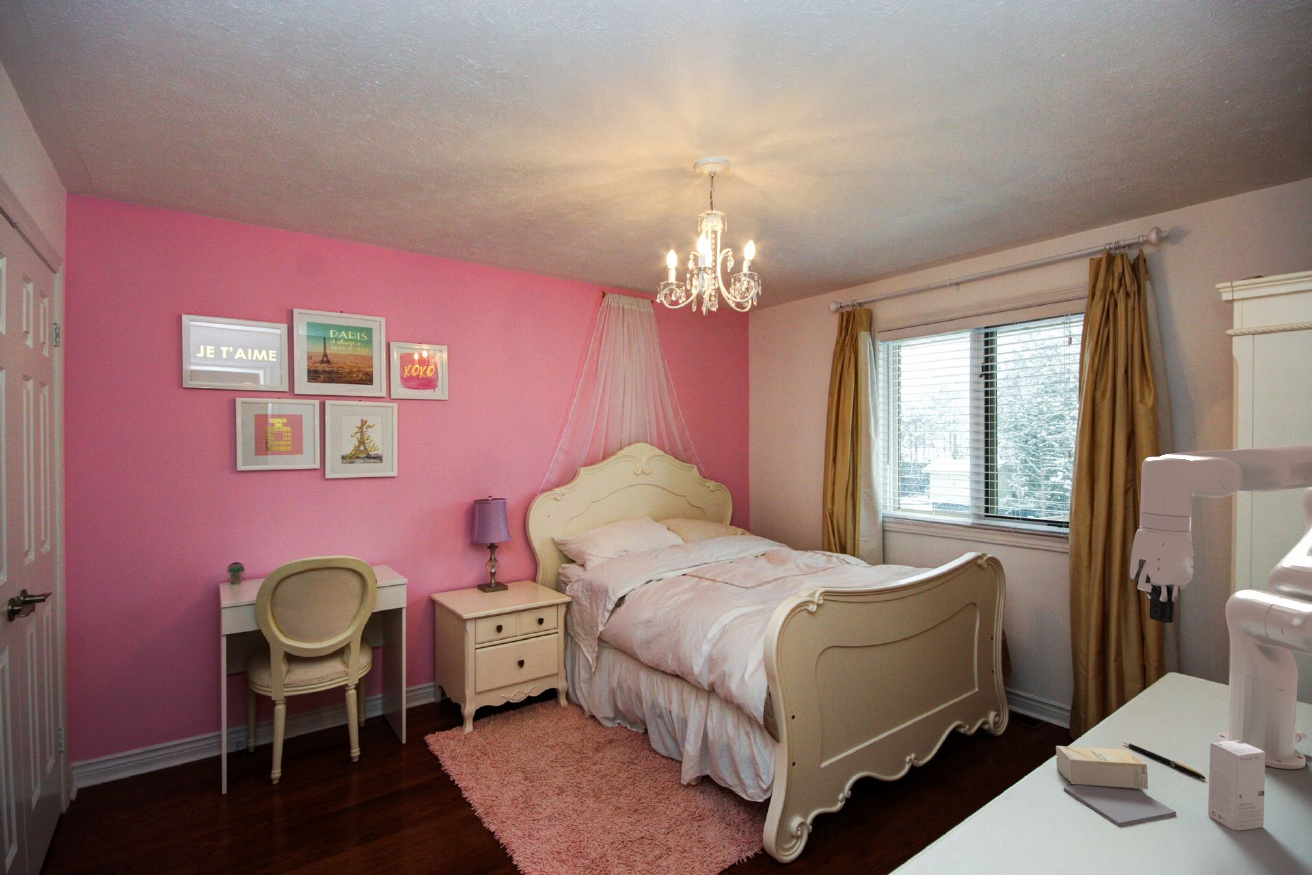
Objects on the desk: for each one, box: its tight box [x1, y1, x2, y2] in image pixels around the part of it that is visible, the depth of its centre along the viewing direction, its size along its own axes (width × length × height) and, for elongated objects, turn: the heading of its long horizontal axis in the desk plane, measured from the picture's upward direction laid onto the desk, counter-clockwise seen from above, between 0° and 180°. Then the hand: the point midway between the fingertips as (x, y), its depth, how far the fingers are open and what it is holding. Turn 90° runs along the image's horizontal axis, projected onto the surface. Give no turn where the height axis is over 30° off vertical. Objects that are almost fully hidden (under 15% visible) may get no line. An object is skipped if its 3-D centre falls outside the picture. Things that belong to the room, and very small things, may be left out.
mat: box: [1063, 784, 1177, 827], centre depth 107 cm, size 12×10×1 cm
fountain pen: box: [1121, 741, 1207, 780], centre depth 120 cm, size 14×1×2 cm, turn 24°
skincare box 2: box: [1207, 740, 1266, 831], centre depth 102 cm, size 6×4×12 cm
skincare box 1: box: [1055, 745, 1149, 790], centre depth 113 cm, size 6×4×12 cm
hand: (1161, 620), depth 119 cm, fingers closed
